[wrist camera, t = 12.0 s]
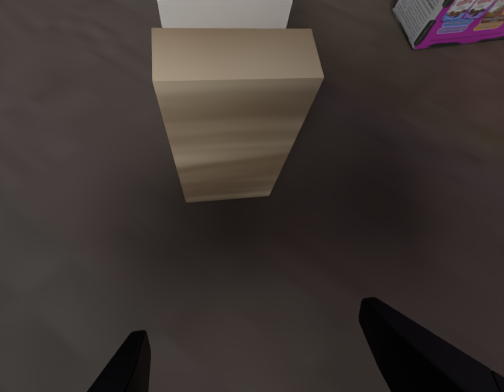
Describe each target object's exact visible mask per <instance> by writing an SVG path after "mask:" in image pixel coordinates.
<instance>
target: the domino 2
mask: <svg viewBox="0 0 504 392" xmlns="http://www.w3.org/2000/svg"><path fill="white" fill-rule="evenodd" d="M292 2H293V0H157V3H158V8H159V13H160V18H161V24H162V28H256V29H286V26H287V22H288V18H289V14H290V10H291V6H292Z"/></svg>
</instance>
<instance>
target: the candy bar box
mask: <svg viewBox="0 0 504 392" xmlns="http://www.w3.org/2000/svg"><path fill="white" fill-rule="evenodd" d="M392 11H393V14H394V16H395V19H396V21H397V22H398V24H399V25H400V27H401V29H402V30H403V32H404V34H405V36H406V38H407V40H408V42H409V43H410V45H411V47H412V48H413V49H415V50H418V49H427V48H436V47H444V46H452V45H460V44H468V43H477V42H485V41H492V40H501V39H504V0H397V2H396V4H395V6H394V7H393V9H392Z"/></svg>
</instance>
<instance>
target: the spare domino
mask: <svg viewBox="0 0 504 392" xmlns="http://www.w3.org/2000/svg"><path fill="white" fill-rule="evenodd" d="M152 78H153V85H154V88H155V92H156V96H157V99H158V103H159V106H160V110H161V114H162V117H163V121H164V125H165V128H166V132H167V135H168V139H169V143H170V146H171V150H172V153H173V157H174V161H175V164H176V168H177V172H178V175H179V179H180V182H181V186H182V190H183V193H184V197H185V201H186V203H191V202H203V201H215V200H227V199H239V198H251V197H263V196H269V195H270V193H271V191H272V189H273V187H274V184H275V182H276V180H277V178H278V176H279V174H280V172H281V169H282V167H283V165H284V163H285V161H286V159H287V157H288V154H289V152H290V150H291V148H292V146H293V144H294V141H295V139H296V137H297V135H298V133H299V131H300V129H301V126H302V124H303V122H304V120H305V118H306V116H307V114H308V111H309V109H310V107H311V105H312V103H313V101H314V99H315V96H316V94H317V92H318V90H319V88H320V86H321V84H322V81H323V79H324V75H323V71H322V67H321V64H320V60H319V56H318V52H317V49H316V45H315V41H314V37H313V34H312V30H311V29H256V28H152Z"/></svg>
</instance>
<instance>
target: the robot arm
mask: <svg viewBox="0 0 504 392" xmlns="http://www.w3.org/2000/svg"><path fill="white" fill-rule="evenodd" d="M359 323H360V325H361V328H362V330H363V332H364V335H365V337H366V340H367V342H368V344H369V347H370V349H371V351H372V354H373V356H374V358H375V361H376V363H377V365H378V367H379V370H380V372H381V374H382V375H383V377H384V379H385V381H386V383H387V385H388V387H389V388H390V390H391V392H504V377H502V376H501V375H499V374H498V373H496V372H494V371H491V370H490V369H489V368H488V367H486V366H485V365H483V364H481V363H480V362H478V361H477V360H475V359H473V358H472V357H470V356H469V355H467V354H465V353H464V352H462V351H461V350H459V349H457V348H456V347H454V346H453V345H451V344H449V343H448V342H446V341H445V340H443V339H441V338H440V337H438V336H437V335H435V334H433V333H432V332H430V331H429V330H427V329H425V328H424V327H422V326H421V325H419V324H417V323H416V322H414V321H413V320H411V319H409V318H408V317H406V316H405V315H403V314H401V313H400V312H398V311H397V310H395V309H393V308H392V307H390V306H389V305H387V304H385V303H384V302H382V301H381V300H379V299H377V298H375V297H369V298H364V299H362V301H361V306H360V312H359ZM150 361H151V349H150V344H149V340H148V335H147V332H146V331H145V330H140V331H133V332H131V333H130V334H129V336H128V337H127V338H126V340H125V341H124V342H123V344H122V345H121V346H120V348H119V349H118V351H117V352H116V353H115V355H114V356H113V357H112V359H111V360H110V361H109V363H108V364H107V365H106V367H105V368H104V369H103V371H102V372H101V373H100V375H99V376H98V378H97V379H96V380H95V382H94V383H93V384H92V386H91V387H90V388H89V390H88V391H87V392H148V389H149V375H150Z"/></svg>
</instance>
